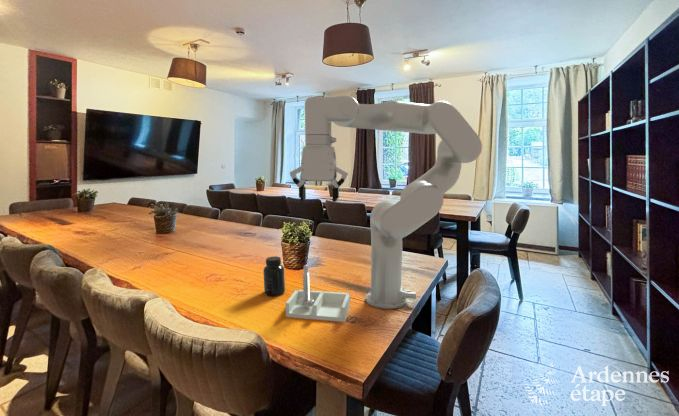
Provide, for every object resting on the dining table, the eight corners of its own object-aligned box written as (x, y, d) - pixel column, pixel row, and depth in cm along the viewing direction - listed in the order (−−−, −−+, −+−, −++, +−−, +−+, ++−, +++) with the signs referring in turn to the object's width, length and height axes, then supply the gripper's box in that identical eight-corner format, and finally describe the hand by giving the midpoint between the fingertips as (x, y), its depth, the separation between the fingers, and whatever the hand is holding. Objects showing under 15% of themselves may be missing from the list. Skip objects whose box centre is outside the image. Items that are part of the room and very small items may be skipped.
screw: (317, 305, 100) (310, 311, 95) (302, 302, 102) (295, 309, 97) (316, 263, 98) (309, 268, 94) (302, 261, 100) (294, 266, 95)
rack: (350, 306, 102) (350, 293, 101) (344, 322, 92) (344, 307, 91) (296, 302, 105) (296, 289, 104) (285, 317, 95) (285, 303, 94)
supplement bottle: (273, 287, 117) (272, 254, 115) (289, 291, 113) (288, 257, 112) (259, 294, 111) (258, 259, 109) (275, 298, 108) (274, 262, 106)
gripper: (349, 142, 98) (349, 199, 101) (293, 142, 101) (294, 198, 104) (345, 141, 91) (345, 203, 94) (285, 141, 94) (286, 201, 97)
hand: (318, 200), depth 99 cm, fingers open, 9 cm apart
